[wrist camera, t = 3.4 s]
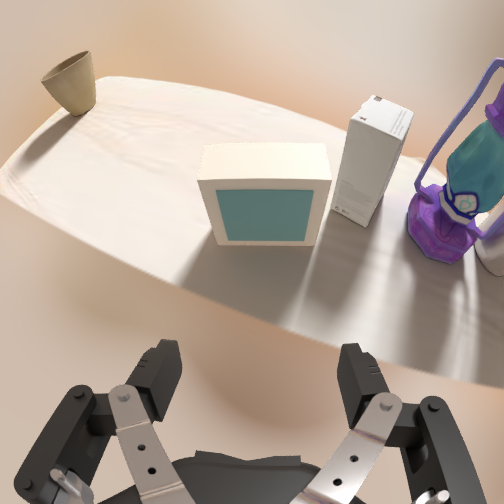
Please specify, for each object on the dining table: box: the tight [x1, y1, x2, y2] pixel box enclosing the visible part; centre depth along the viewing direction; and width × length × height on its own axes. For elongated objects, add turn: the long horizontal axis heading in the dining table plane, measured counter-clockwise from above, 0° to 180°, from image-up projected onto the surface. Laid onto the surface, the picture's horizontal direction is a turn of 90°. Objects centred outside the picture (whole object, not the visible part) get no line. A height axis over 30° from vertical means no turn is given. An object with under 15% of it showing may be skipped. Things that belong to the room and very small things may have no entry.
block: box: [197, 143, 332, 246], centre depth 30 cm, size 12×5×12 cm, turn 88°
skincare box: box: [330, 95, 414, 228], centre depth 30 cm, size 8×6×15 cm
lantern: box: [408, 58, 504, 264], centre depth 20 cm, size 13×12×30 cm
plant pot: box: [41, 50, 96, 116], centre depth 51 cm, size 15×15×16 cm
